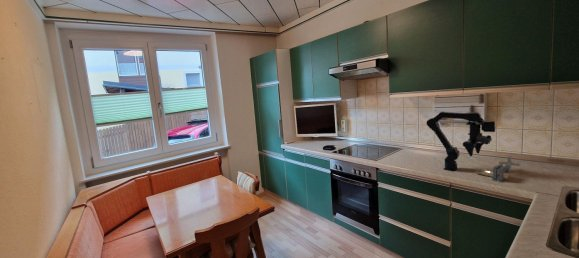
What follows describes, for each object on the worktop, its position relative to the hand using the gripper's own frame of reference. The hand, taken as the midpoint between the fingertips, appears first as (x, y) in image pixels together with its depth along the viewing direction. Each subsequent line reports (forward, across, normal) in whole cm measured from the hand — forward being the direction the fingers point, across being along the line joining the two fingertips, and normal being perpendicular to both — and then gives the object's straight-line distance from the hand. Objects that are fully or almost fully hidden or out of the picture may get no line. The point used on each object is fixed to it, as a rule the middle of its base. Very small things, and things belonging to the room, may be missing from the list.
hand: (474, 154), depth 166 cm
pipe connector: (+12, +16, -13) cm, 24 cm away
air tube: (+12, -3, -11) cm, 16 cm away
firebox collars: (+12, -3, -16) cm, 20 cm away
